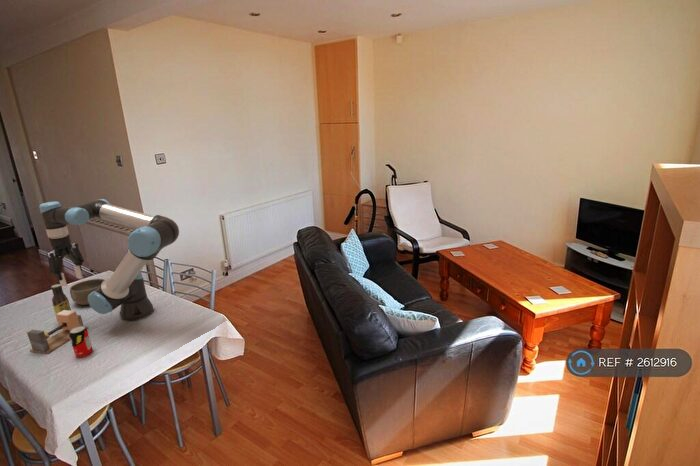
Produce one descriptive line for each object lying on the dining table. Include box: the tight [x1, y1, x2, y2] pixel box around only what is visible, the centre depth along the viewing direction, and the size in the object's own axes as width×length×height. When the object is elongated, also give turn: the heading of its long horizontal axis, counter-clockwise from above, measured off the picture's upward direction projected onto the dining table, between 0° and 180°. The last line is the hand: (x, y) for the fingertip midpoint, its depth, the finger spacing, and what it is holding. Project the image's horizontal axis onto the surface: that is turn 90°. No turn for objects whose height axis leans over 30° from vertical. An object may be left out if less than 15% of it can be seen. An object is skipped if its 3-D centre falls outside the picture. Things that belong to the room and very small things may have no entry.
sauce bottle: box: [50, 283, 72, 316], centre depth 179 cm, size 6×6×20 cm
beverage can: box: [69, 325, 93, 358], centre depth 155 cm, size 6×6×12 cm
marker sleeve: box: [55, 310, 80, 330], centre depth 171 cm, size 7×4×8 cm, turn 78°
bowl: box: [69, 278, 105, 306], centre depth 201 cm, size 17×18×10 cm
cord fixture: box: [26, 314, 89, 355], centre depth 166 cm, size 20×10×10 cm, turn 168°
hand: (72, 281), depth 172 cm, fingers open, 8 cm apart
